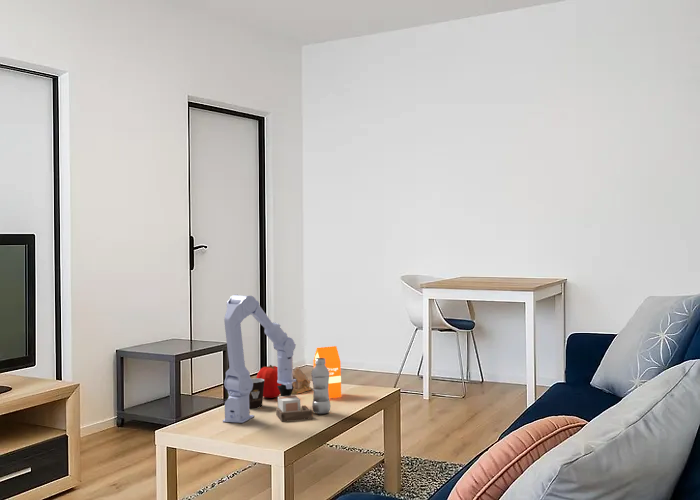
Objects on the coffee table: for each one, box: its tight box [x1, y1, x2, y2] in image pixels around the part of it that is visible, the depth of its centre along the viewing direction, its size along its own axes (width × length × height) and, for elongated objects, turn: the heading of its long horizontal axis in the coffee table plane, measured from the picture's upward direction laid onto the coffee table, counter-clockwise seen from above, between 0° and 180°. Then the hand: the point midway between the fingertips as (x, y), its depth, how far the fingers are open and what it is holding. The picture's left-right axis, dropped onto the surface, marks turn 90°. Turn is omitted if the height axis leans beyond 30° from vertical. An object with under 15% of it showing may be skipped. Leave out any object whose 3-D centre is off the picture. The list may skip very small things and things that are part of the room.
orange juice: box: [312, 345, 342, 399], centre depth 290 cm, size 8×9×20 cm
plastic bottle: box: [310, 358, 331, 415], centre depth 262 cm, size 6×7×20 cm
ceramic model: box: [291, 366, 313, 395], centre depth 302 cm, size 14×11×10 cm
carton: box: [277, 394, 301, 412], centre depth 266 cm, size 8×6×5 cm
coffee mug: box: [249, 377, 264, 410], centre depth 275 cm, size 12×9×10 cm
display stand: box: [275, 405, 313, 422], centre depth 258 cm, size 10×11×3 cm
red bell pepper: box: [256, 364, 282, 399], centre depth 290 cm, size 12×12×13 cm
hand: (285, 404), depth 271 cm, fingers closed
